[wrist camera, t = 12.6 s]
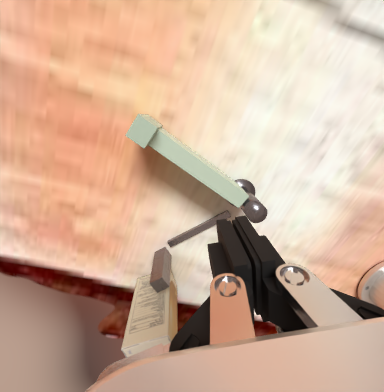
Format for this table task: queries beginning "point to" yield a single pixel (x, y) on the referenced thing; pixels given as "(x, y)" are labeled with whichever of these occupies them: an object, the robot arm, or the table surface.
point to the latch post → (163, 257)
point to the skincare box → (150, 317)
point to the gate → (184, 158)
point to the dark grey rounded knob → (251, 203)
